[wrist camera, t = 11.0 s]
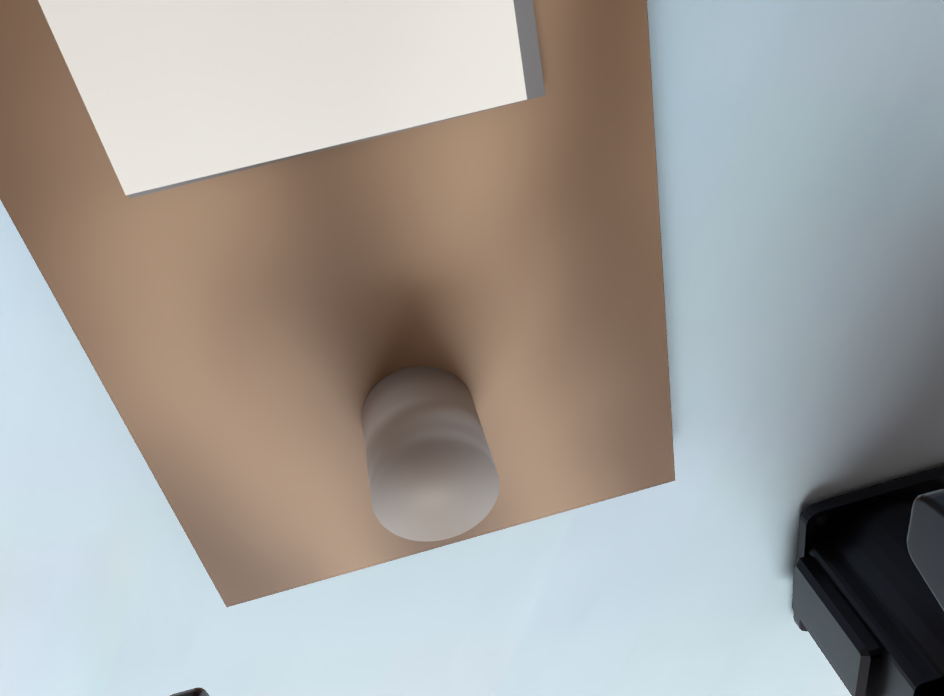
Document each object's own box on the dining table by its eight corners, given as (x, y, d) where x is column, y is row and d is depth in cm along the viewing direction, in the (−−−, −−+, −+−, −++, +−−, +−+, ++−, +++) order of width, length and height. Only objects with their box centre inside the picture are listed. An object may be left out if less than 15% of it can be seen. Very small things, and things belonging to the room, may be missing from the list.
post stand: (592, -536, 13) (705, -697, 9) (662, 459, 25) (723, 556, 21) (-280, -366, 12) (-527, -473, 8) (229, 581, 24) (217, 703, 20)
